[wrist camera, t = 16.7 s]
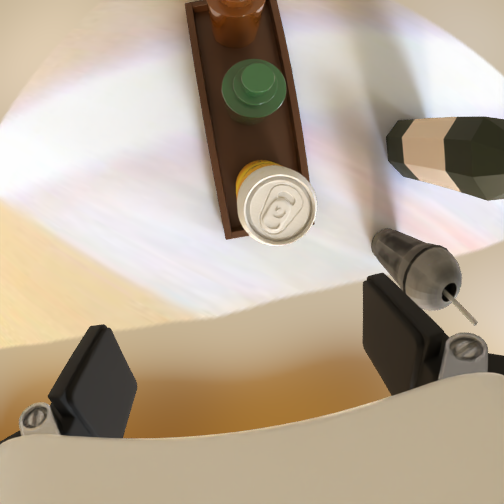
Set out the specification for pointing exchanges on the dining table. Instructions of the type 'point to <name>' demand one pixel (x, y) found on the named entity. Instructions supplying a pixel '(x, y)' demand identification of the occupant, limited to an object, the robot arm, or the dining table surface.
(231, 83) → the green bottle
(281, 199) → the beer can
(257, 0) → the amber bottle
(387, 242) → the beverage cup
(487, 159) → the wine bottle
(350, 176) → the dining table surface
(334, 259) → the dining table surface
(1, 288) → the dining table surface
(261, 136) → the tray
